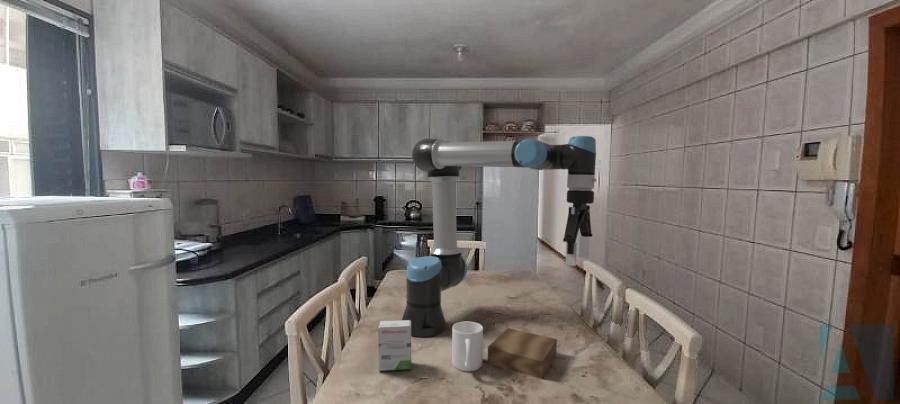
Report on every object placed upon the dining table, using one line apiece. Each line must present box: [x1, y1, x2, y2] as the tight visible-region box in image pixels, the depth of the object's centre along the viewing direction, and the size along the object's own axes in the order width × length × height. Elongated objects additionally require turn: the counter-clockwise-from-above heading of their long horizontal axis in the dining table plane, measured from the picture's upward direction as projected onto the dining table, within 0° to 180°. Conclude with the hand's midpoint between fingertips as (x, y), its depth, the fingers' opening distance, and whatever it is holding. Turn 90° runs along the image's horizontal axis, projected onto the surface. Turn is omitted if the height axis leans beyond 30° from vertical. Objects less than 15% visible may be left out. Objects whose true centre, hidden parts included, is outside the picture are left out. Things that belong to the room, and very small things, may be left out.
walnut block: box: [487, 327, 558, 380], centre depth 99 cm, size 15×15×5 cm
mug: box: [451, 320, 484, 372], centre depth 93 cm, size 12×8×10 cm
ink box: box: [377, 319, 412, 372], centre depth 94 cm, size 9×5×12 cm, turn 96°
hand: (577, 261), depth 104 cm, fingers open, 13 cm apart
